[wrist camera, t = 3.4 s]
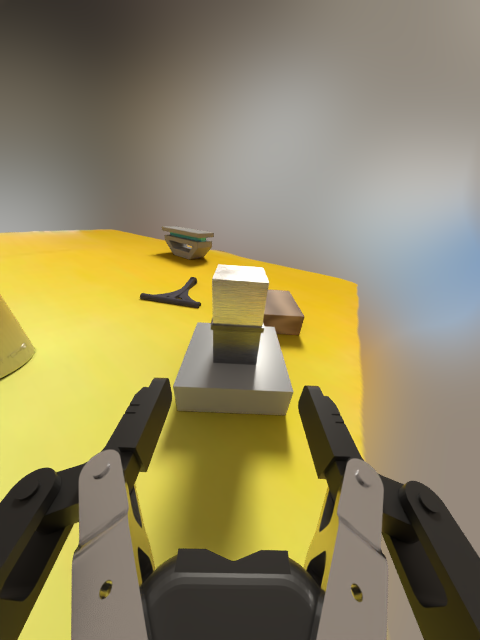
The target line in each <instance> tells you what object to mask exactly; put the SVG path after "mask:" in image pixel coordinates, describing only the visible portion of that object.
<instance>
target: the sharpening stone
mask: <svg viewBox="0 0 480 640" xmlns="http://www.w3.org/2000/svg"><path fill="white" fill-rule="evenodd" d="M162 230H163V231H168V232H170V235H165V241H166V242H167V244H168V246H169V247H170V249H171V251H172V253H173V254H174V255H177V256H180V257H183V258H186V259H189V260H190V259H196V258H202V257H204V256H205V255H206V253H207V252H208V251H209V250H210V248H211V247H212V241H208V240H206V238H207V237H214V233H210V232H205V231H200V230H194V229H188V228H183V227H162ZM186 244H188V245H191V246H192V248H191V247H187V245H186Z"/></svg>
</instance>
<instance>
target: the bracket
mask: <svg viewBox="0 0 480 640" xmlns="http://www.w3.org/2000/svg"><path fill="white" fill-rule="evenodd" d="M195 284H197V279H196V278H195V277H191V278H190V279H189V281H188V282H187V283H186V284H185V286H184V287H182V288H181V289H179V290H177V291H174V292H171V293H165V294H157V295H151V294H145V293H142V294H141V295H140V299H144V300H150V301H157V302H163V303H169V304H175V305H182V306H188V307H194V308H199V306H201V303H200V302H196V301H194V300H192V299H191V298H190V297H189V296H188V291H189V289H190V288H192V287H193V286H194V285H195ZM178 298H181V299H178Z"/></svg>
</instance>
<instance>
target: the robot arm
mask: <svg viewBox="0 0 480 640" xmlns="http://www.w3.org/2000/svg"><path fill="white" fill-rule="evenodd" d="M34 352H35V348H34V346H33V345H32V343H31V341H30V340H29V338H28V337H27V335H26V334H25V332H24V331H23V329H22V327H21V326H20V324H19V322H18V321H17V319H16V318H15V316H14V315H13V313H12V312H11V310H10V309H9V307H8V306H7V304H6V303H5V301H4V299H3V298H2V296H1V295H0V378H2V377H4V376H6V375H8V374H10V373H12V372H13V371H15V370H16V369H18V368H20V367H21V366H23V365H24V364H25V363H26V362H28V361H29V360H30V358H31V357H32V356H33V354H34ZM171 402H172V392H171V387H170V382H169V379H168V378H154V379H153V380H152V382H151V384H150V386H149V387H143V388H142V389H141V390H140V391H139V392H138V393H137V394H135V396H134V398H133V399H132V401H131V403H130V406H128V408H127V410H126V412H125V414H124V415H123V417H122V419H121V420H120V422H119V424H118V426H117V427H116V429H115V431H114V432H113V434H112V436H111V438H110V439H109V441H108V443H107V445H106V446H105V448H104V449H103V450H102V451H101V452H100V453H98V454H96V455H95V456H94V457H92V458H91V459H90V460H89V461H88V462H86V463H84V464H82V465H79V466H76V467H72V468H69V469H66V470H63V471H59V472H55V471H54V470H53V469H51V468H41V469H38V470H35V471H33V472H31V473H30V474H28V475H26V476H25V477H24V478H22V479H21V480H20V481H19V482H18V483H17V484H16V485H15V486H14V487H13V488H12V489H11V490H10V491H9V492H8V494H7V495H6V496H5V498H4V499H3V500H2V501H1V503H0V640H17V639H18V637H19V635H20V633H21V631H22V629H23V627H24V625H25V623H26V621H27V619H28V617H29V615H30V613H31V611H32V609H33V607H34V604H35V602H36V600H37V598H38V596H39V594H40V592H41V590H42V588H43V586H44V584H45V582H46V580H47V578H48V576H49V574H50V572H51V570H52V568H53V566H54V564H55V562H56V560H57V558H58V555H59V553H60V551H61V549H62V547H63V545H64V543H65V541H66V539H67V537H68V535H69V533H70V531H71V529H72V527H73V525H74V523H77V522H79V545H78V547H77V549H76V550H75V552H74V555H73V561H72V616H71V640H387V603H388V565H387V560H386V557H385V556H384V554H383V553H382V550H381V533H382V535H383V538H384V540H385V543H386V545H387V548H388V550H389V553H390V555H391V558H392V560H393V563H394V565H395V568H396V570H397V573H398V575H399V578H400V580H401V583H402V585H403V588H404V590H405V593H406V595H407V598H408V600H409V603H410V605H411V608H412V610H413V613H414V615H415V618H416V620H417V623H418V625H419V628H420V631H421V633H422V635H423V638H424V640H480V558H479V557H478V555H477V553H476V552H475V551H474V549H473V547H472V546H471V544H470V543H469V541H468V540H467V538H466V537H465V535H464V533H463V532H462V531H461V529H460V527H459V526H458V524H457V523H456V521H455V520H454V518H453V517H452V515H451V514H450V512H449V511H448V509H447V507H446V506H445V504H444V503H443V502H442V500H441V499H440V498H439V497H438V496H437V495H436V494H435V493H434V492H433V491H432V490H430V488H428V487H427V486H425V485H424V484H422V483H419V482H417V481H409V482H407V483H406V484H405V485H404V484H401V483H399V482H396V481H394V480H391V479H389V478H386V477H384V476H381V475H380V474H378V473H377V472H376V471H375V470H374V469H373V468H372V467H371V466H370V465H369V464H368V463H366V462H365V461H364V460H363V459H362V457H361V455H360V453H359V451H358V449H357V447H356V445H355V443H354V441H353V439H352V437H351V435H350V433H349V431H348V429H347V427H346V425H345V424H344V421H343V419H342V417H341V416H340V413H339V410H338V408H337V406H336V404H335V403H334V402H333V401H332V400H331V399H330V398H329V397H328V396H323V394H322V391H321V389H320V388H319V387H318V386H304V388H303V391H302V394H301V396H300V399H299V403H298V409H299V414H300V417H301V420H302V424H303V427H304V431H305V434H306V438H307V441H308V445H309V448H310V451H311V455H312V458H313V462H314V465H315V469H316V472H317V476H318V479H326V480H327V483H328V488H327V491H326V495H325V499H324V503H323V506H322V510H321V514H320V518H319V522H318V525H317V529H316V532H315V535H314V537H313V539H312V541H311V544H310V546H309V549H308V553H307V556H306V560H305V564H304V567H302V566H301V565H299V564H298V563H297V562H295V561H294V560H292V559H290V558H288V551H278V550H260V551H258V552H256V553H253V554H251V555H249V556H246V557H244V558H241V559H239V560H237V561H230V560H228V559H226V558H224V557H222V556H220V555H217V554H215V553H213V552H211V551H209V550H207V549H178V555H176V556H174V557H172V558H170V559H168V560H167V561H165V562H164V563H163V564H161V565H160V566H159V567H158V568H157V569H156V570H155V565H154V561H153V556H152V552H151V547H150V543H149V540H148V537H147V534H146V531H145V527H144V523H143V518H142V513H141V509H140V504H139V499H138V495H137V490H136V485H135V481H136V479H137V476H138V474H139V472H147V470H148V467H149V464H150V461H151V458H152V456H153V453H154V450H155V447H156V445H157V442H158V439H159V436H160V434H161V431H162V428H163V425H164V422H165V420H166V417H167V414H168V411H169V409H170V406H171Z"/></svg>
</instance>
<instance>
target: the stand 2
mask: <svg viewBox="0 0 480 640" xmlns="http://www.w3.org/2000/svg"><path fill="white" fill-rule="evenodd" d="M303 320H304V315H303V314H302V312H301V310H300V309H299V307H298V305H297V304H296V302H295V300H294V299H293V297H292V295H291V294H290V292H289V291H280V290H268V292H267V298H266V305H265V311H264V318H263V324H264V326H266V327H275V331H276V334H290V335H299V334H300V330H301V327H302V323H303Z"/></svg>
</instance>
